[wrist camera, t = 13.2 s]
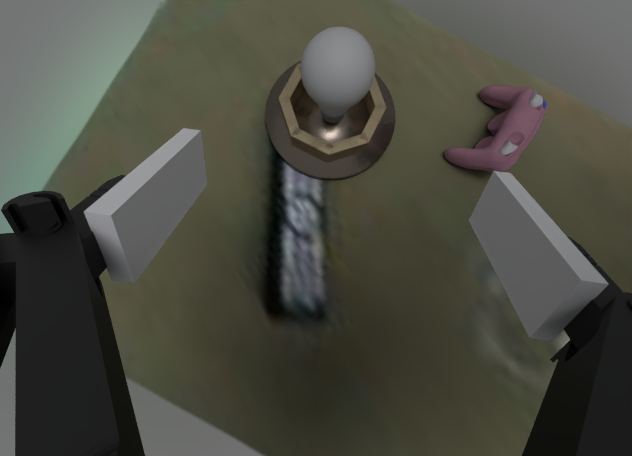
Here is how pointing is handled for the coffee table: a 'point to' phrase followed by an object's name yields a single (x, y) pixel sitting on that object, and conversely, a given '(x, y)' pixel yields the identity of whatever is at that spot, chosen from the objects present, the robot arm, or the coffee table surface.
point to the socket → (328, 129)
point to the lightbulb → (337, 70)
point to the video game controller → (503, 129)
